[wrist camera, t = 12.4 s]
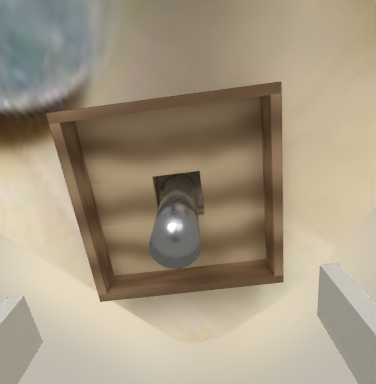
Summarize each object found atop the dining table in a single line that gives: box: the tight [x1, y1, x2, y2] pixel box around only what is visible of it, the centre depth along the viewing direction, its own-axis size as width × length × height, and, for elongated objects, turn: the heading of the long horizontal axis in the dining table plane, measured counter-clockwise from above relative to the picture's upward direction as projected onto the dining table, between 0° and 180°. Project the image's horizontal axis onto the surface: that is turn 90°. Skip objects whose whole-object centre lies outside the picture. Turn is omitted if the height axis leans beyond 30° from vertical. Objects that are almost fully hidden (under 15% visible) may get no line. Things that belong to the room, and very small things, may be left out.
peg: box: [149, 175, 201, 269], centre depth 27 cm, size 4×4×14 cm
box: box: [46, 82, 283, 302], centre depth 30 cm, size 22×22×6 cm
